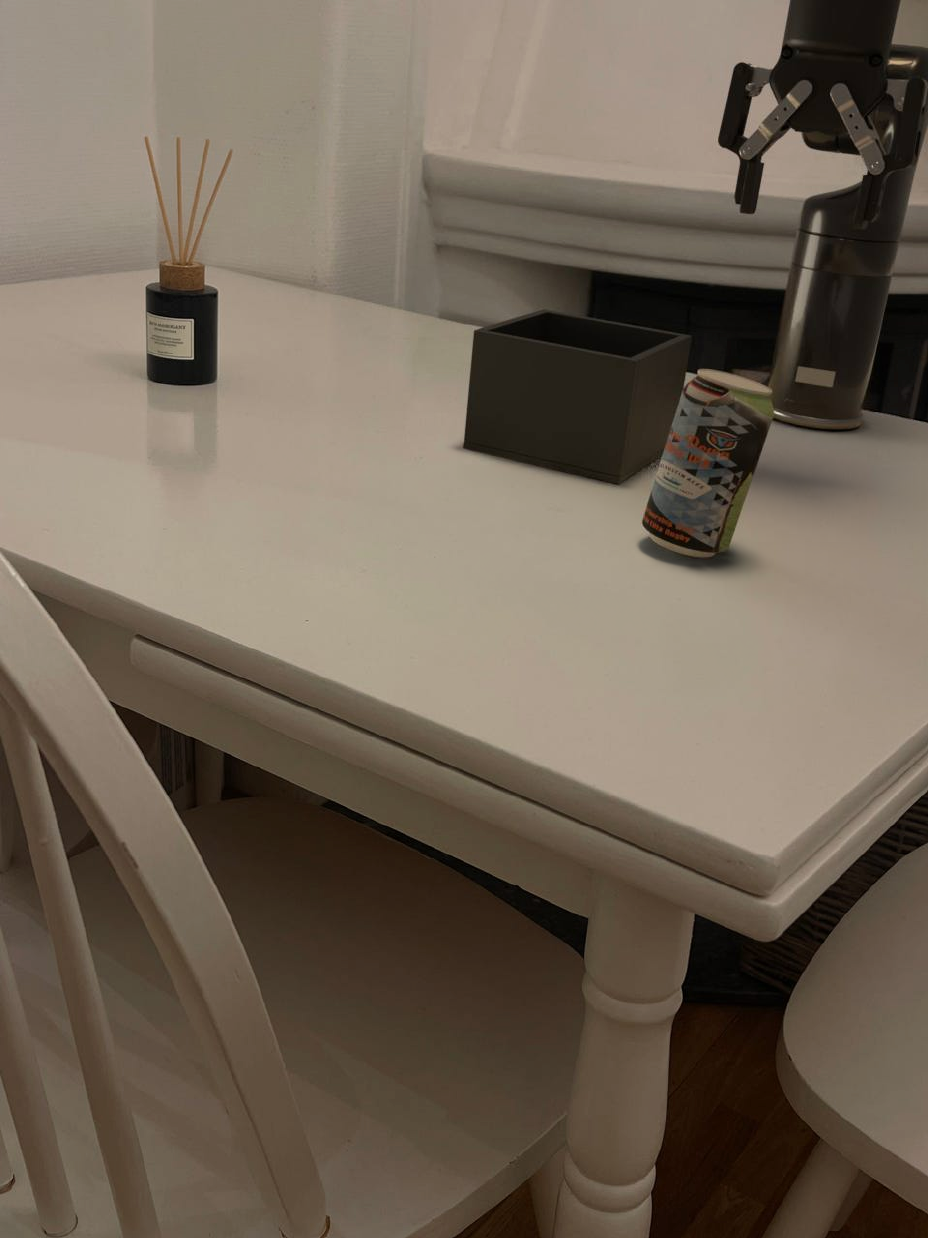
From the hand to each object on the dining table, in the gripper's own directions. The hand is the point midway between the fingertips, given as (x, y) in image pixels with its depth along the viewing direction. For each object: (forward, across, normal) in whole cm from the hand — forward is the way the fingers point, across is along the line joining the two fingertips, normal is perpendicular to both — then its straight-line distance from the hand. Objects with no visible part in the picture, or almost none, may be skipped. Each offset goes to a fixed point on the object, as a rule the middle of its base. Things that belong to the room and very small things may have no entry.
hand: (802, 220), depth 95 cm
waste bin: (+20, +15, +3) cm, 25 cm away
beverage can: (+21, -1, +20) cm, 29 cm away
